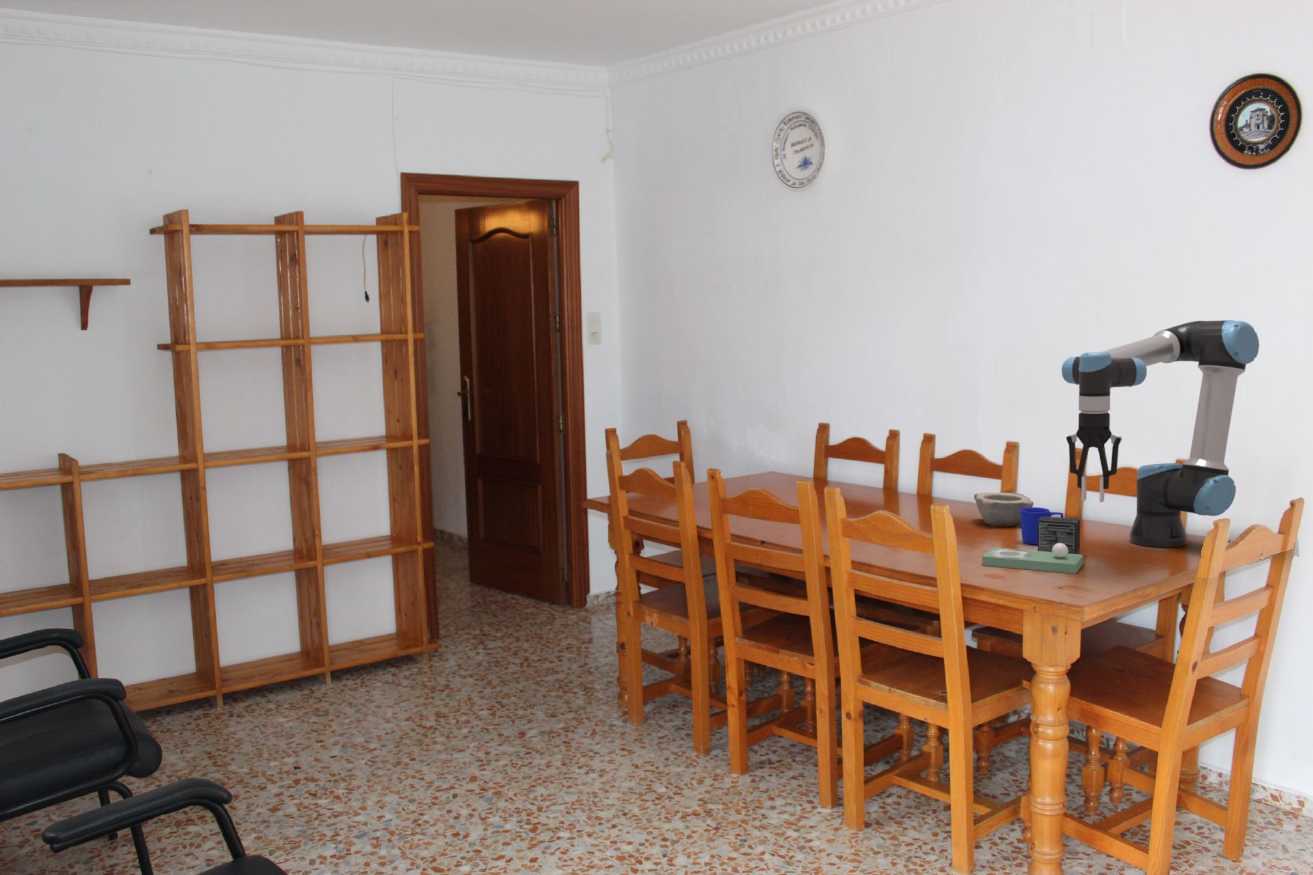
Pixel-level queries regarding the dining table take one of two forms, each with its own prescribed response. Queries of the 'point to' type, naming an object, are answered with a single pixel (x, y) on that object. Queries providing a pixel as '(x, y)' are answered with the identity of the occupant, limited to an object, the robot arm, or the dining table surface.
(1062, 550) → the ball
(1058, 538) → the small box
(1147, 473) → the robot arm
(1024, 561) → the green
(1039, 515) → the mug
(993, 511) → the mortar
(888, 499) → the dining table surface
